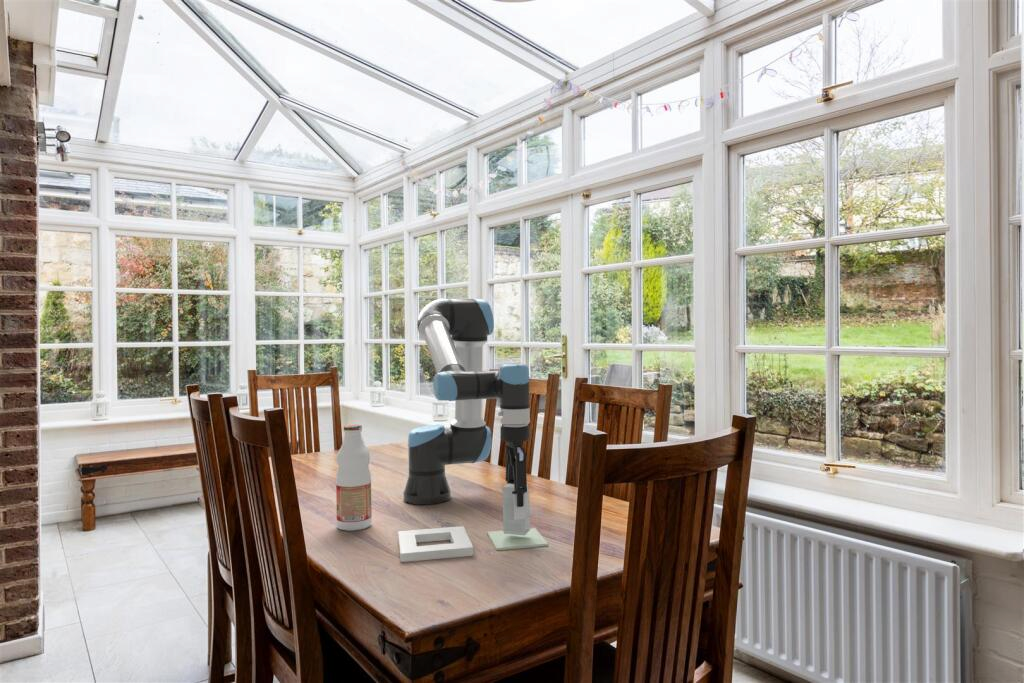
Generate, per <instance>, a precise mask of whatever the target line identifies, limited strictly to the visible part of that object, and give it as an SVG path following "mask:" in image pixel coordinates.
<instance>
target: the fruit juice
mask: <svg viewBox="0 0 1024 683" xmlns="http://www.w3.org/2000/svg"><path fill="white" fill-rule="evenodd" d="M362 431H363V425H362V424H346V425H344V426H343V432H344V438H343V441H342V444H341V446H340V448H339V450H338V451H337V453H336V460H335V461H336V463H337V464H336V465H337V467H338V468H337V472H336V478H335V486H336V488H335V489H336V492H335V493H336V499H335V500H336V501H335V502H336V527H337V529H339V530H342V531H346V532H347V531H348V532H350V531H351V532H352V531H353V532H354V531H361V530H364V529H367V528H369V527H370V526H371V525H372V520H373V518H372V516H373V515H372V514H373V512H372V511H373V510H372V475H371V474H372V473H371V470H370V466H369V465H370V460H371V454H370V451H369V449H368V448H367V446H366V444H365V442H364V438H363V437H362Z"/></svg>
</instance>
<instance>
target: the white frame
mask: <svg viewBox="0 0 1024 683" xmlns="http://www.w3.org/2000/svg"><path fill="white" fill-rule="evenodd" d="M397 538H398V541H397V542H398V547H399V557H400V558H399V560H400V563H409V562H417V561H418V562H420V561H429V560H430V561H432V560H439V559H442V560H443V559H448V558H449V559H451V558H462V557H463V558H464V557H473V556H474V545H473V544H472V541H471V539H470V537H469V535H468V533H467V531H466V529H465V527H464V525H462V526H461V525H460V526H450V527H449V526H447V527H435V528H423V529H410V530H409V529H408V530H398V531H397ZM439 541H450V543H441V544H431V545H430V544H429V545H420V546H418V544H417V543H426V542H427V543H428V542H439Z"/></svg>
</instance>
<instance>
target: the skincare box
mask: <svg viewBox="0 0 1024 683" xmlns="http://www.w3.org/2000/svg"><path fill="white" fill-rule="evenodd" d="M521 488H522V487H521ZM501 490H502V492H501V493H502V525H503V526H502V531H503V533H504V534H514V535H526V534H527V533H528V532H529V531H530V528H531V522H530V521H531V520H530V519H531V518H530V517H531V516H530V485H529V484H527V492H525V519H518V520H514V494H512V492H513V491H515V489H514V484H507V483H506V484H505V485H503V486H502V487H501Z"/></svg>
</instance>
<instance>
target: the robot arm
mask: <svg viewBox="0 0 1024 683" xmlns="http://www.w3.org/2000/svg"><path fill="white" fill-rule="evenodd" d="M416 322H417V324H416V325H417V331H418V335H419V337H420V338H421V339H422V340H423V341H425V343H426V346H427V348H428V349H427V350H428V352H429V354H430V357H431V360H432V363H433V366H434V368H435V371H436V373H435V374H434V375H433V376H434V377H433V386H432V387H433V394H434V398H435V399H436V400H437V401H445V402H446V401H449V402H455V405H454V409H455V410H454V411H455V412H454V418H453V419H452V420H451V421H450V425H449V426H450V427H449V428H446V427H445V425H443V424H440V423H438V424H430V425H424V426H419V427H415V428H413V429H412V430H410V432H409V433H408V437H407V438H408V440H407V447H408V449H407V451H408V452H407V453H408V477H407V480H406V483H405V484H406V485H405V486H404V487H405V488H404V491H403V501H404V502H405V501H406V502H405V503H407V502H409V503H408V504H411V503H414V504H413V505H421V504H425V505H435V504H434V503H436V504H441V503H445V502H447V501H450V500H451V499H452V496H451V494H452V493H451V492H452V491H451V489H450V485H449V482H448V480H447V476H446V466H448V465H449V466H450V465H460V464H461V465H462V464H475V463H482V462H485V461H486V460H487V458H489V455H490V453H491V450H492V449H491V448H492V436H491V435H492V431H491V428H490V427H489V426H487V425H486V423H487V422H486V421H485V420H484V419H483V417H482V401H483V400H490V399H499V405H500V406H499V408H500V411H499V412H497V415H498V416H499V417H500V424H502V425H500V427H499V428H500V432H499V433H500V440H501V441H503V442H507V444H505V446H504V447H505V478H504V479H505V482H506V484H514V489H515V491H513V492H512V494H514V520H518V519H525V492H527V485H528V482H527V479H528V478H527V452H526V450H525V447H523V446H524V445H523V442H527V441H529V440H531V439H530V438H531V429H530V428H531V427H530V425H529V424H531V423H530V422H531V408H530V381H531V380H530V379H531V377H530V371H529V366H528V365H527V364H524V363H522V364H520V363H507V364H502V365H500V367H499V369H494V370H483V347H484V345H485V344H486V343H487V342H488V336H491V335H492V334H493V333H494V328H495V322H494V313H493V310H492V308H491V305H490V304H489V302H488V301H487V300H486V299H480V298H439V299H435V300H433V301H431V302H429V303H428V304H426V306H424V307H423V308H422V309H421V311H420V313H419V315H418V317H417V321H416ZM521 487H522V488H521ZM444 501H445V502H444Z"/></svg>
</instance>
